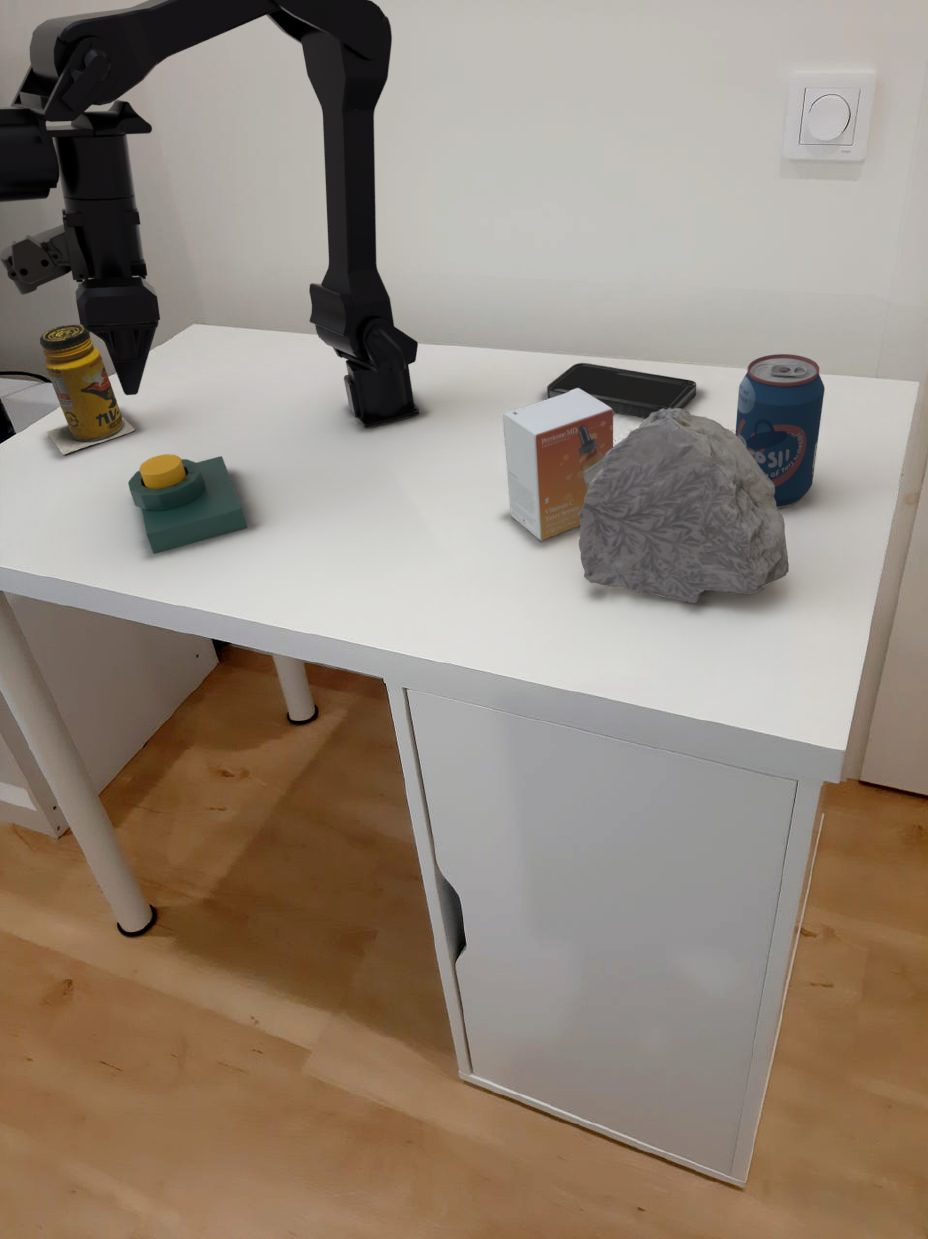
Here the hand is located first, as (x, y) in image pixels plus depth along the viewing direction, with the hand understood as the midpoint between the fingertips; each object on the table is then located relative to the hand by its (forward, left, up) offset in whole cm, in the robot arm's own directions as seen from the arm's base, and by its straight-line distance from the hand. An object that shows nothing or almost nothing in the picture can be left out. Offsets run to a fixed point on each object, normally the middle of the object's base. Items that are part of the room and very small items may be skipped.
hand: (127, 378), depth 89 cm
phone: (-49, +2, -14) cm, 51 cm away
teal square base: (-2, +2, -14) cm, 14 cm away
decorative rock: (-37, +35, -14) cm, 53 cm away
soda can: (-51, +27, -14) cm, 60 cm away
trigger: (0, +1, -10) cm, 10 cm away
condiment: (+7, -23, -14) cm, 28 cm away
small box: (-33, +21, -14) cm, 42 cm away
